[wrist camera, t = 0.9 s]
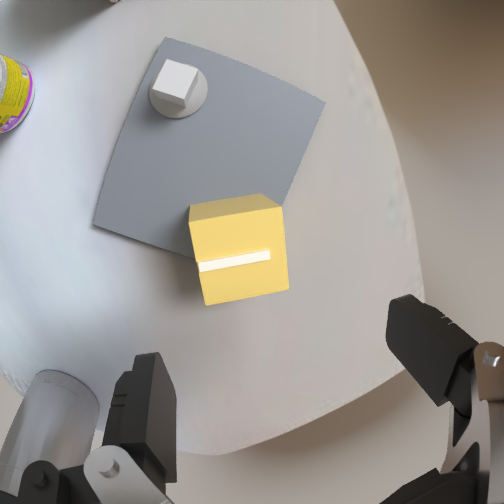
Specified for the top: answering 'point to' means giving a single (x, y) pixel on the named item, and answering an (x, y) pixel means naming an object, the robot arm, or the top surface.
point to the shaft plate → (201, 143)
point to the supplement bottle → (14, 92)
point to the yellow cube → (239, 247)
